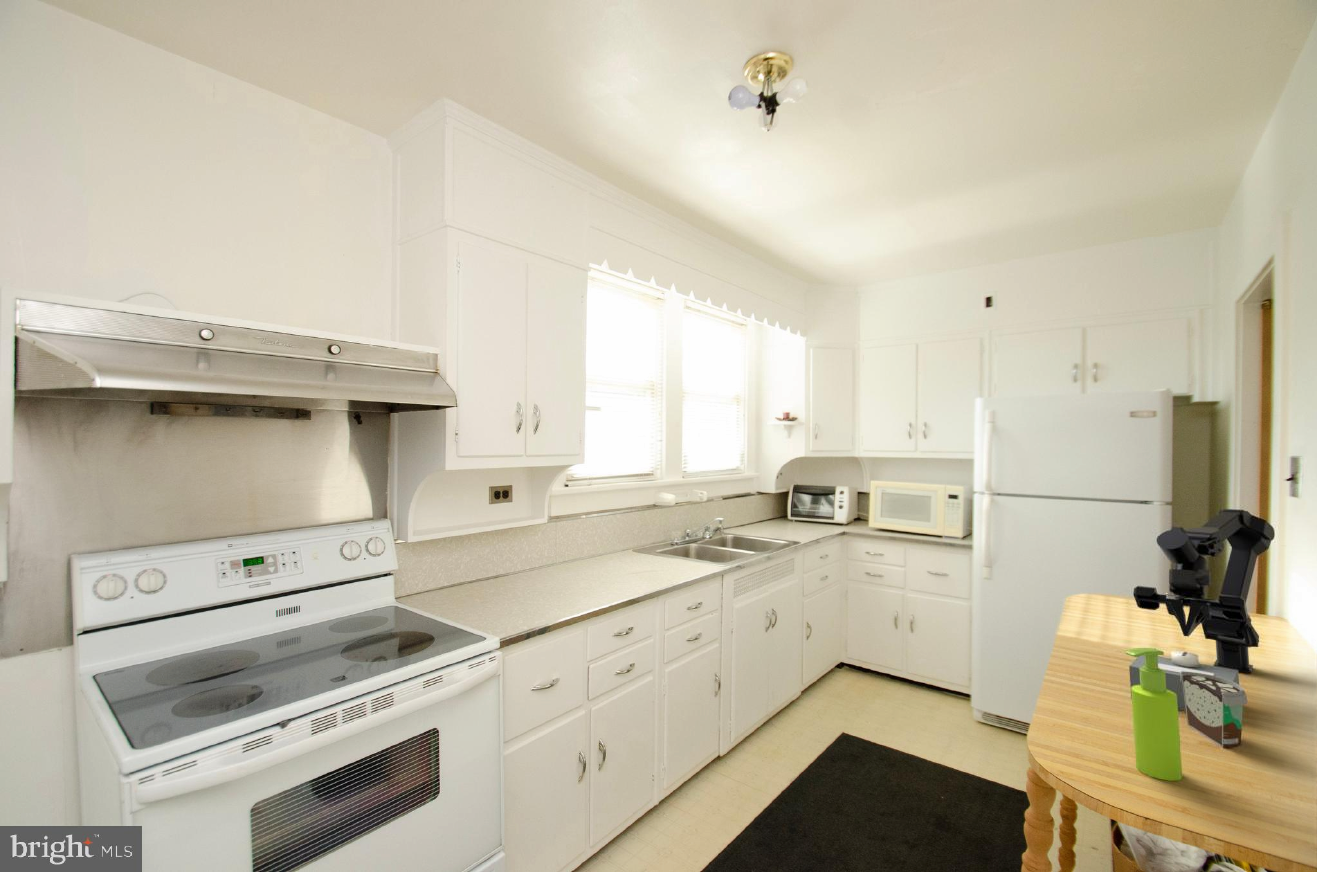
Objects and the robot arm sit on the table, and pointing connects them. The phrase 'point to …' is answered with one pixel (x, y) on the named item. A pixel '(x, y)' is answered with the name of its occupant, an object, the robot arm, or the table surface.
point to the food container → (1214, 707)
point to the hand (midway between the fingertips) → (1185, 635)
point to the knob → (1185, 659)
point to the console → (1174, 675)
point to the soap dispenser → (1155, 720)
